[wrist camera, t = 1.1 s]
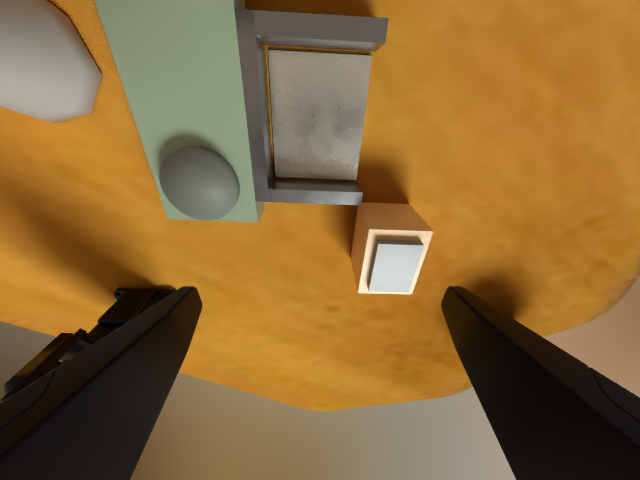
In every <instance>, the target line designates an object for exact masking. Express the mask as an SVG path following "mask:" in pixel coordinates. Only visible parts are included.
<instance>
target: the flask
mask: <svg viewBox="0 0 640 480" xmlns="http://www.w3.org/2000/svg"><path fill="white" fill-rule="evenodd" d="M101 79H102V74H101V73H100V71H99V69H98V67H97V66H96V64H95V62H94V60H93V59H92V57H91V55H90V54H89V52H88V50H87V48H86V47H85V45H84V43H83V41H82V40H81V38H80V36H79V35H78V33H77V31H76V29H75V28H74V26H73V24H72V22H71V21H70V19H69V18H68V17H67V16H66V15H65V14H63V13H62V12H61V11H59V10H58V9H57V8H56V7H54V6H53V5H52V4H51V3H49V2H48V1H47V0H0V107H3V108H6V109H10V110H13V111H16V112H19V113H23V114H26V115H29V116H33V117H36V118H39V119H43V120H47V121H50V122H54V123H58V122H61V121H65V120H68V119H72V118H76V117H79V116H83V115H87V114H90V113H91V111H92V108H93V104H94V101H95V98H96V95H97V92H98V88H99V85H100V82H101Z"/></svg>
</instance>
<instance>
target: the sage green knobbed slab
mask: <svg viewBox="0 0 640 480" xmlns="http://www.w3.org/2000/svg"><path fill="white" fill-rule="evenodd" d="M94 1H95V4H96V7H97V10H98V13H99V16H100V19H101V22H102V25H103V28H104V31H105V34H106V37H107V40H108V43H109V46H110V49H111V52H112V55H113V58H114V61H115V64H116V67H117V70H118V73H119V76H120V79H121V82H122V85H123V88H124V91H125V94H126V97H127V99H128V102H129V105H130V108H131V111H132V114H133V117H134V120H135V123H136V126H137V129H138V132H139V135H140V138H141V141H142V144H143V147H144V150H145V153H146V156H147V159H148V162H149V165H150V168H151V171H152V174H153V177H154V180H155V183H156V186H157V189H158V192H159V195H160V198H161V201H162V204H163V207H164V210H165V213H166V216H167V219H178V220H204V221H236V222H258V221H259V219H260V217H261V215H262V213H263V211H264V203H263V202H258V201H255V193H254V184H253V175H252V166H251V157H250V147H249V138H248V129H247V120H246V111H245V102H244V93H243V84H242V75H241V66H240V57H239V48H238V38H237V29H236V20H235V11H234V9H246V5H245V0H94Z"/></svg>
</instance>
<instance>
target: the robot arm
mask: <svg viewBox="0 0 640 480" xmlns="http://www.w3.org/2000/svg"><path fill="white" fill-rule="evenodd" d="M114 295H115V297H116V299H117V301H116V302H115V303H114V304H113V305H112V306H111V307H110V308H109V309H108V310H107V311H106V312H105V313H104V314H103V315H102V316H101V317H100V318H99V319H98V324H97V325H96V326H95V327H94V328H93V329H92V330H91V331H90V332H89V333H86V332H87V331H85V330H83V329H81V328H80V329H79V330H78V331H77V332H76V333H74V334H72V333H61V334H60V335H59V336H57V337H56V338H55V339H54V340H53V341H52V342H51V343H50V344H49V345H47V346H46V347H45V348H44V349H43V350H42V351H41V352H40V353H39V354H38V355H37V356H35V357H34V358H33V359H32V360H31V361H30V362H29V363H28V364H27V365H25V366H24V367H23V368H22V369H21V370H20V371H19V372H18V373H16V374H15V375H14V376H13V377H12V378H11V379H10V380H9V381H8V382H7V383H6V384H4V397H3V398H2V399H1V400H0V480H130V479H131V476H132V474H133V472H134V470H135V467H136V465H137V463H138V461H139V459H140V456H141V454H142V452H143V450H144V447H145V445H146V443H147V441H148V439H149V436H150V434H151V432H152V429H153V427H154V425H155V423H156V421H157V418H158V416H159V414H160V412H161V410H162V407H163V405H164V403H165V400H166V398H167V396H168V394H169V392H170V389H171V387H172V385H173V383H174V381H175V378H176V376H177V374H178V372H179V369H180V367H181V365H182V363H183V361H184V358H185V356H186V354H187V351H188V349H189V346H190V343H191V340H192V337H193V334H194V331H195V328H196V325H197V322H198V319H199V316H200V313H201V310H202V301H201V299H200V296H199V293H198V291H197V288H196V287H193V286H184V287H181V288H180V289H178V290H176V291H175V290H165V289H127V288H118V289H116V290H115V291H114ZM441 307H442V311H443V314H444V317H445V320H446V323H447V326H448V328H449V331H450V334H451V337H452V340H453V343H454V346H455V348H456V351H457V353H458V355H459V357H460V360H461V362H462V364H463V366H464V368H465V370H466V373H467V375H468V377H469V379H470V381H471V383H472V385H473V387H474V390H475V392H476V394H477V396H478V398H479V400H480V403H481V405H482V407H483V409H484V411H485V413H486V416H487V418H488V420H489V422H490V424H491V426H492V428H493V431H494V433H495V435H496V437H497V439H498V441H499V444H500V446H501V448H502V450H503V452H504V454H505V456H506V459H507V461H508V463H509V465H510V467H511V469H512V472H513V474H514V476H515V478H516V480H640V398H639V397H638V396H636V395H635V394H633V393H631V392H630V391H628V390H626V389H625V388H623V387H621V386H620V385H618V384H617V383H615V382H613V381H611V380H610V379H608V378H607V377H605V376H604V375H602V374H600V373H599V372H597V371H596V370H594V369H592V368H589V367H588V366H587V365H586V364H584V363H583V362H581V361H580V360H578V359H576V358H575V357H573V356H572V355H570V354H568V353H567V352H565V351H564V350H562V349H560V348H559V347H557V346H556V345H554V344H552V343H551V342H549V341H548V340H546V339H544V338H543V337H541V336H540V335H538V334H537V333H535V332H533V331H532V330H530V329H529V328H527V327H525V326H524V325H522V324H521V323H519V322H517V321H516V320H514V319H513V318H511V317H509V316H508V315H506V314H505V313H503V312H501V311H500V310H498V309H497V308H495V307H493V306H492V305H490V304H489V303H487V302H485V301H484V300H482V299H481V298H479V297H477V296H476V295H474V294H473V293H471V292H469V291H468V290H466V289H465V288H463V287H461V286H449V287H448V288H447V290H446V292H445V295H444V297H443V300H442V303H441ZM59 360H62V361H63V362H59Z"/></svg>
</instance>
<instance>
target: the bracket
mask: <svg viewBox="0 0 640 480" xmlns="http://www.w3.org/2000/svg"><path fill="white" fill-rule="evenodd" d="M234 11H235V20H236V29H237V38H238V48H239V57H240V66H241V75H242V84H243V93H244V102H245V111H246V120H247V129H248V138H249V147H250V157H251V166H252V175H253V184H254V193H255V201H258V202H285V203H312V204H339V205H361V204H362V198H363V191H362V189H361V187H360V185H359V183H358V182H336V181H311V180H286V179H274V178H273V163H272V147H271V131H270V115H269V99H268V84H267V68H266V52H265V45H270V46H288V47H305V48H323V49H341V50H359V51H376V50H377V49H379V48H380V47H381V46H382V45H383V44H384V43H385V40H386V33H387V26H388V19H389V18H379V17H362V16H346V15H329V14H312V13H296V12H279V11H262V10H246V9H234ZM268 59H269V76H270V93H271V110H272V127H273V144H274V161H275V177H293V178H318V179H343V180H357V172H358V164H359V156H360V148H361V140H362V132H363V124H364V117H365V109H366V101H367V93H368V85H369V77H370V69H371V61H372V56H369V55H351V54H333V53H315V52H297V51H279V50H268Z"/></svg>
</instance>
